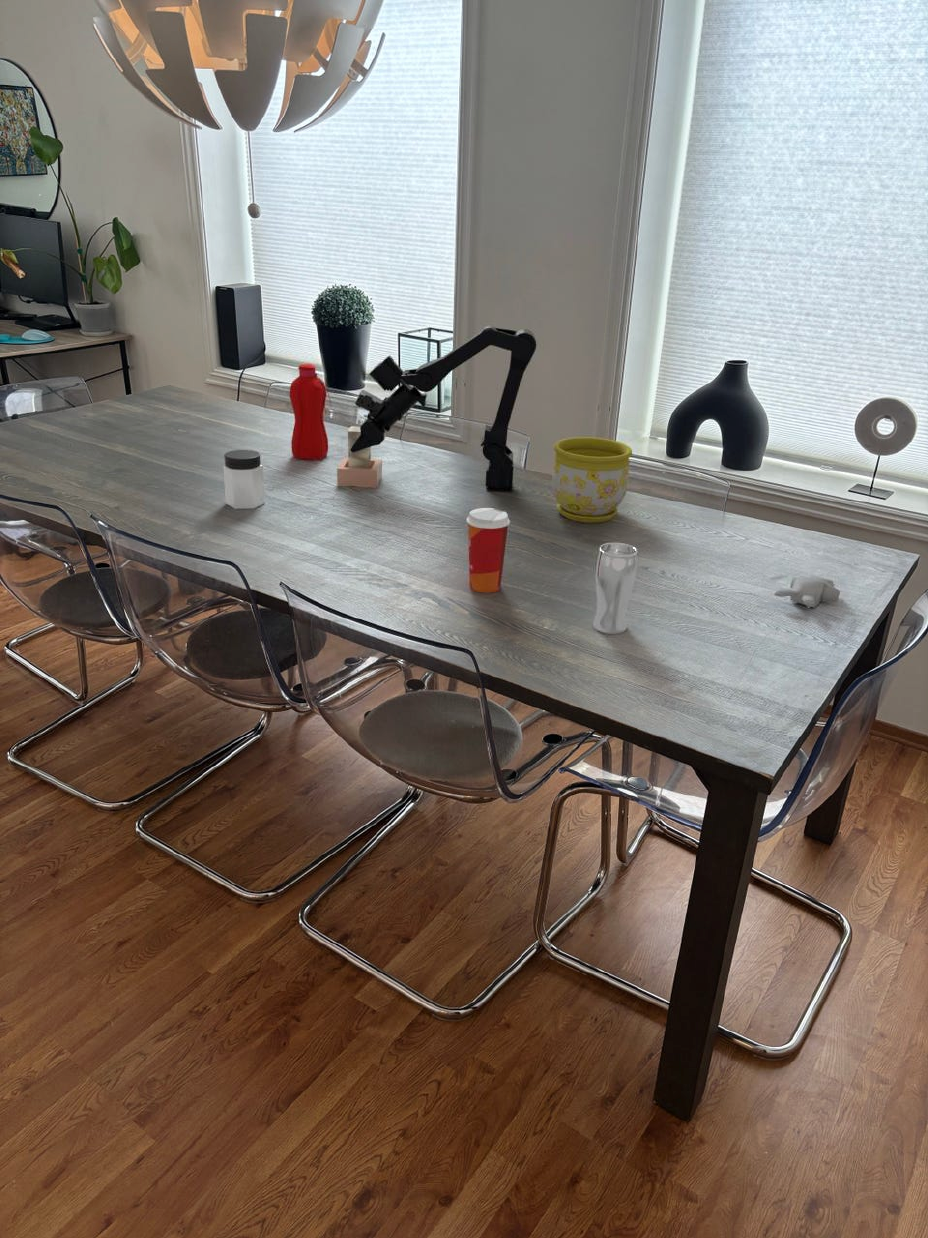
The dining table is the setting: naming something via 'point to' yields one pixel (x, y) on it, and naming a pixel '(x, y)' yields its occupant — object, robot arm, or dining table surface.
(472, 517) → the coffee cup
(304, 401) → the water bottle
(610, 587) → the beer glass
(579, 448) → the flowerpot
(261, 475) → the jar
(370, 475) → the socket
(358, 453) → the birch block
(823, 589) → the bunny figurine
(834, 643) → the dining table surface
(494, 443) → the robot arm
